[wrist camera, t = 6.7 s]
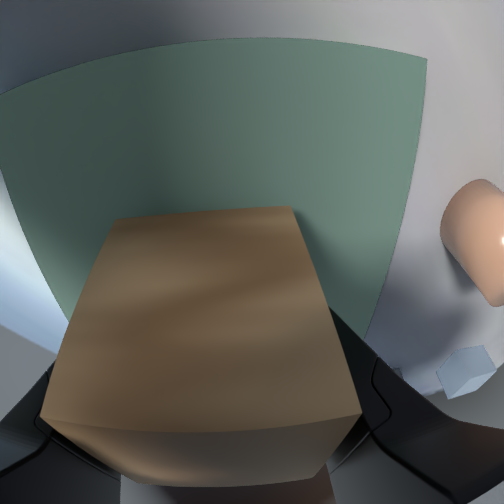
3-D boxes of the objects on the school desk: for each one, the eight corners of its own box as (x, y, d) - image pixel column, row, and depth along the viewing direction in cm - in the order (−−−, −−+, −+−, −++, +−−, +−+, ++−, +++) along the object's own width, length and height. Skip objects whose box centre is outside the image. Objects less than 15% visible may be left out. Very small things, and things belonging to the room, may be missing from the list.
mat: (410, 55, 8) (427, 58, 7) (353, 338, 16) (358, 352, 15) (1, 95, 7) (-15, 101, 6) (102, 354, 15) (99, 368, 14)
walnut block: (290, 205, 9) (361, 412, 4) (283, 323, 12) (313, 477, 7) (115, 219, 8) (39, 416, 4) (153, 331, 11) (137, 483, 7)
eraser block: (482, 343, 20) (496, 370, 18) (463, 364, 22) (476, 390, 20) (455, 348, 20) (470, 378, 17) (435, 370, 21) (448, 399, 19)
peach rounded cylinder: (506, 181, 11) (560, 227, 8) (482, 248, 13) (524, 298, 10) (453, 176, 11) (514, 229, 7) (430, 253, 13) (473, 314, 10)
